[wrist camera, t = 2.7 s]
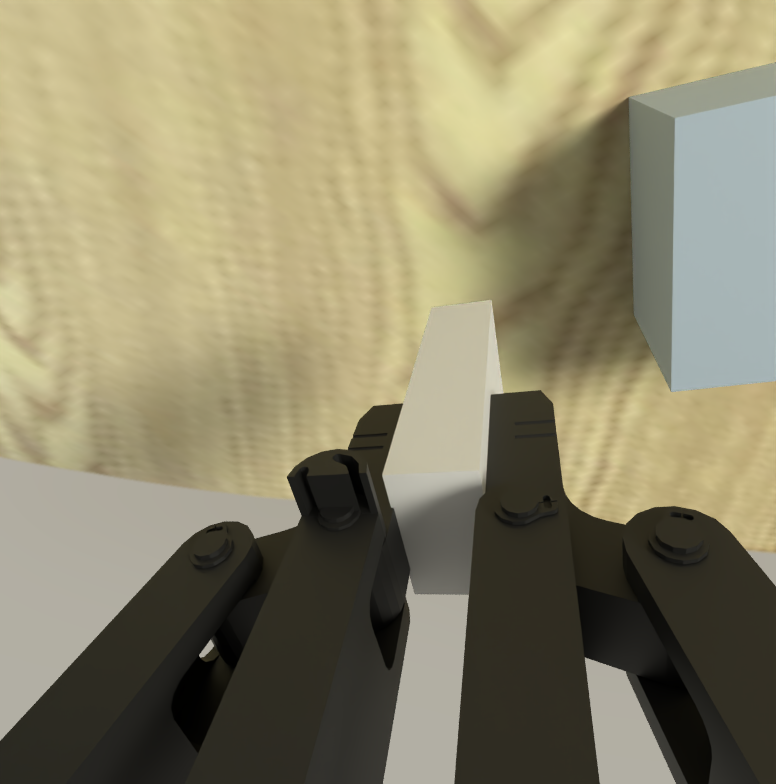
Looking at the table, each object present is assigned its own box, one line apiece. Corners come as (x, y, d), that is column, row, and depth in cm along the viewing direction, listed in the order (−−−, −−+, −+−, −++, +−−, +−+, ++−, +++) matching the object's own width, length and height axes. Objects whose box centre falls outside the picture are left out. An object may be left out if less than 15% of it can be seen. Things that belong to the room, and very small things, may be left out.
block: (633, 313, 23) (671, 392, 18) (627, 96, 19) (674, 118, 14) (804, 289, 21) (898, 367, 16) (837, 47, 17) (975, 51, 12)
